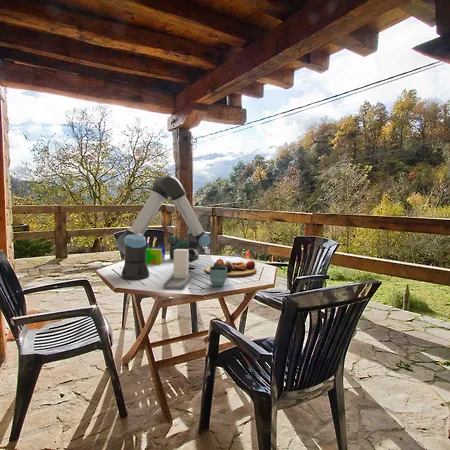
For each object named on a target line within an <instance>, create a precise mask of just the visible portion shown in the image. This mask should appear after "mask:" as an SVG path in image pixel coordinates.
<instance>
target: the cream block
mask: <svg viewBox="0 0 450 450" xmlns="http://www.w3.org/2000/svg"><path fill="white" fill-rule="evenodd" d="M189 263H190V262H189V249H175V250H174V259H173V273H174V278H187V276H188V275H189V265H190V264H189Z"/></svg>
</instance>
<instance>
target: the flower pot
mask: <svg viewBox="0 0 450 450" xmlns="http://www.w3.org/2000/svg"><path fill="white" fill-rule="evenodd" d="M226 274H227V268H226V267H210V274H209V280H210V282H211V285H212V286H213V287H223V286H224V285H225V283H226V279H227V277H226Z"/></svg>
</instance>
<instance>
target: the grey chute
mask: <svg viewBox="0 0 450 450" xmlns="http://www.w3.org/2000/svg"><path fill="white" fill-rule="evenodd" d="M192 279H193V272H190V273H188V276H187V278H174V272H173V273H172V274H171V275H170V276H169V277H168V279H166V280H165V282H163V290H182V289H184V290H185V289H186V288H187V286H188V284H189V283H190V282H191V280H192Z"/></svg>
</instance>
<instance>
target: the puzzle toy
mask: <svg viewBox="0 0 450 450" xmlns="http://www.w3.org/2000/svg"><path fill="white" fill-rule="evenodd" d="M165 257H166V256H165V247H159V246H158V247H157V246H156V247H155V246H153V247H151V246H150V247H148V248H146V264H147V265H162V264H163V263H164V261H165V260H166V259H165ZM161 263H162V264H161Z"/></svg>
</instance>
